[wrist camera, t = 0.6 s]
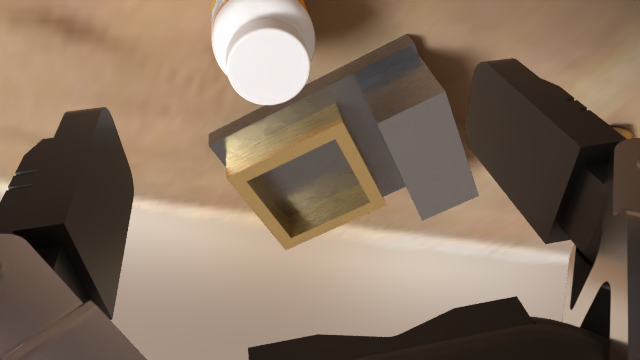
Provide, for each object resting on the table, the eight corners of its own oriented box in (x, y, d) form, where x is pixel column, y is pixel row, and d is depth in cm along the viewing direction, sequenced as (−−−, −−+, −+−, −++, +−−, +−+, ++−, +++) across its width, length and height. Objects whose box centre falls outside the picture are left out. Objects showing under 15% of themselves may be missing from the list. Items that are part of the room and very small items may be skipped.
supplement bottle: (312, 17, 31) (342, 89, 24) (239, 53, 32) (246, 134, 25) (275, -65, 28) (297, -9, 21) (194, -22, 29) (187, 46, 21)
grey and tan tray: (407, 33, 33) (440, 78, 28) (449, 153, 41) (481, 204, 36) (209, 134, 36) (208, 190, 31) (283, 228, 43) (292, 286, 38)
